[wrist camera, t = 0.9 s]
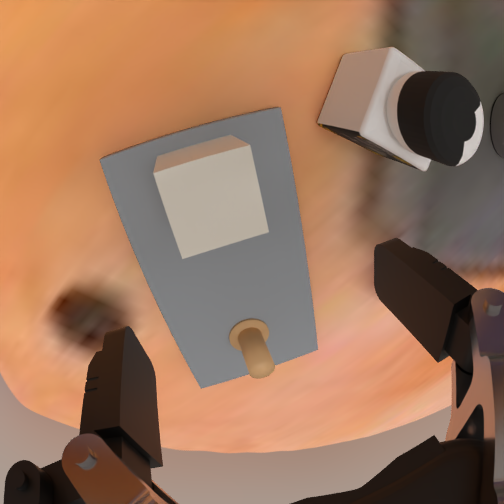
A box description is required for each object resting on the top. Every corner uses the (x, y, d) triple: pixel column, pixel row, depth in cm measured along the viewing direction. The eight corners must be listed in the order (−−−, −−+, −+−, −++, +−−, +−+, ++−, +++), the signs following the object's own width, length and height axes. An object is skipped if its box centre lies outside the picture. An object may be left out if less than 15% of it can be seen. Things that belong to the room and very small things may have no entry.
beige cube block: (230, 134, 22) (250, 145, 17) (246, 202, 25) (269, 232, 20) (157, 156, 22) (153, 173, 17) (178, 223, 25) (182, 259, 19)
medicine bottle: (314, 124, 25) (409, 148, 14) (342, 52, 22) (444, 40, 12) (376, 154, 27) (473, 193, 17) (401, 89, 25) (502, 103, 15)
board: (275, 107, 23) (307, 109, 18) (314, 342, 36) (336, 380, 31) (102, 157, 22) (82, 174, 16) (199, 380, 35) (208, 423, 29)
